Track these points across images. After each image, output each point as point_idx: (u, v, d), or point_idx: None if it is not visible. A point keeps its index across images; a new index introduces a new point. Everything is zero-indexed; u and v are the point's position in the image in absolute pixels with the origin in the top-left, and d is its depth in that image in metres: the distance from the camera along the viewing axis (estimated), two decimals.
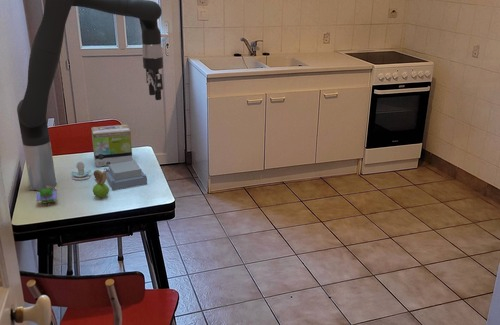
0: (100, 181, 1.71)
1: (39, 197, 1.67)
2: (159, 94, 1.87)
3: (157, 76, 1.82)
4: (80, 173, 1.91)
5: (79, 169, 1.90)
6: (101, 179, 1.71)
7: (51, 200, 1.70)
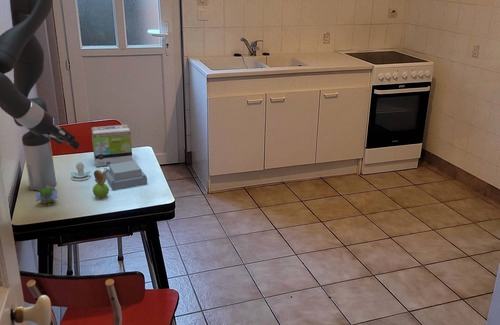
0: (100, 181, 1.71)
1: (39, 197, 1.67)
2: None
3: None
4: (80, 174, 1.90)
5: (79, 170, 1.90)
6: (101, 179, 1.71)
7: (51, 200, 1.70)
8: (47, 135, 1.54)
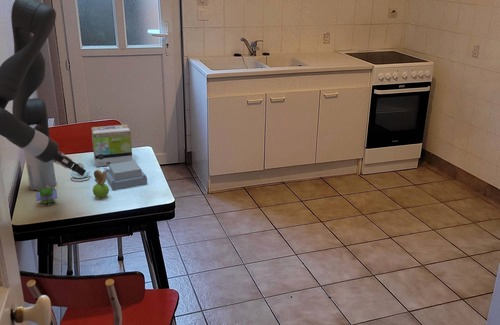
0: (100, 181, 1.71)
1: (39, 197, 1.67)
2: None
3: None
4: (79, 174, 1.90)
5: None
6: (101, 179, 1.71)
7: (51, 200, 1.70)
8: None
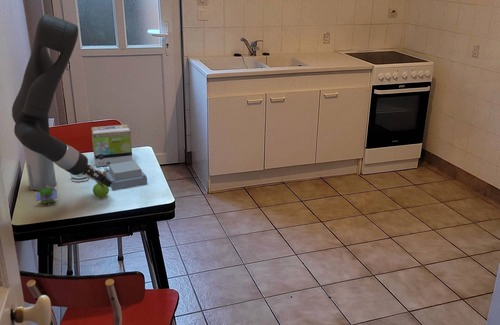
0: None
1: (39, 197, 1.67)
2: None
3: None
4: (79, 175, 1.89)
5: None
6: None
7: (51, 200, 1.70)
8: None
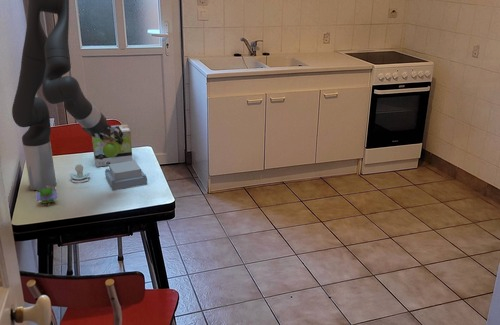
0: (112, 140, 1.72)
1: (39, 197, 1.67)
2: None
3: None
4: (79, 176, 1.89)
5: (78, 171, 1.88)
6: None
7: (51, 200, 1.70)
8: (98, 133, 1.67)
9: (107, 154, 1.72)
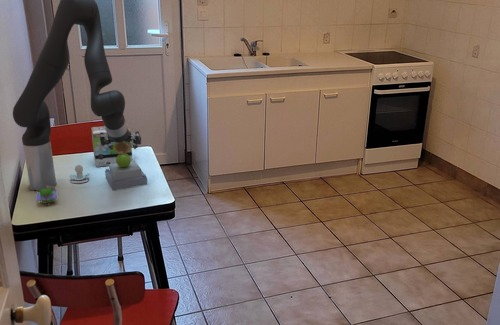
0: (126, 150, 1.83)
1: (39, 197, 1.67)
2: (108, 145, 1.82)
3: (100, 135, 1.75)
4: (79, 176, 1.88)
5: (78, 172, 1.87)
6: (127, 148, 1.83)
7: (51, 200, 1.70)
8: (116, 142, 1.77)
9: (124, 164, 1.83)
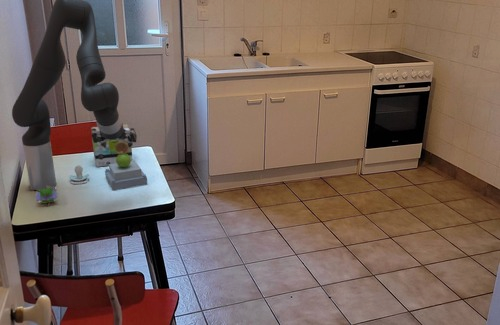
0: (126, 150, 1.83)
1: (39, 197, 1.67)
2: None
3: (92, 131, 1.62)
4: (78, 177, 1.87)
5: (77, 173, 1.87)
6: (127, 148, 1.83)
7: (51, 200, 1.70)
8: (109, 139, 1.64)
9: (124, 164, 1.83)
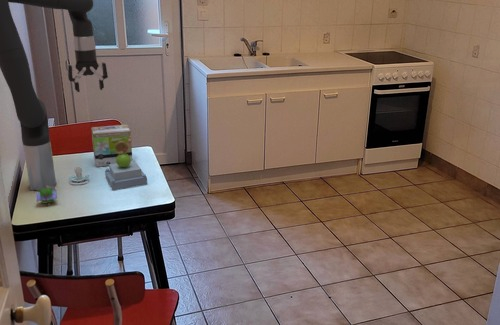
0: (126, 150, 1.83)
1: (39, 197, 1.67)
2: None
3: None
4: (78, 178, 1.87)
5: (77, 174, 1.86)
6: (127, 148, 1.83)
7: (51, 200, 1.70)
8: (84, 71, 1.85)
9: (124, 164, 1.83)
